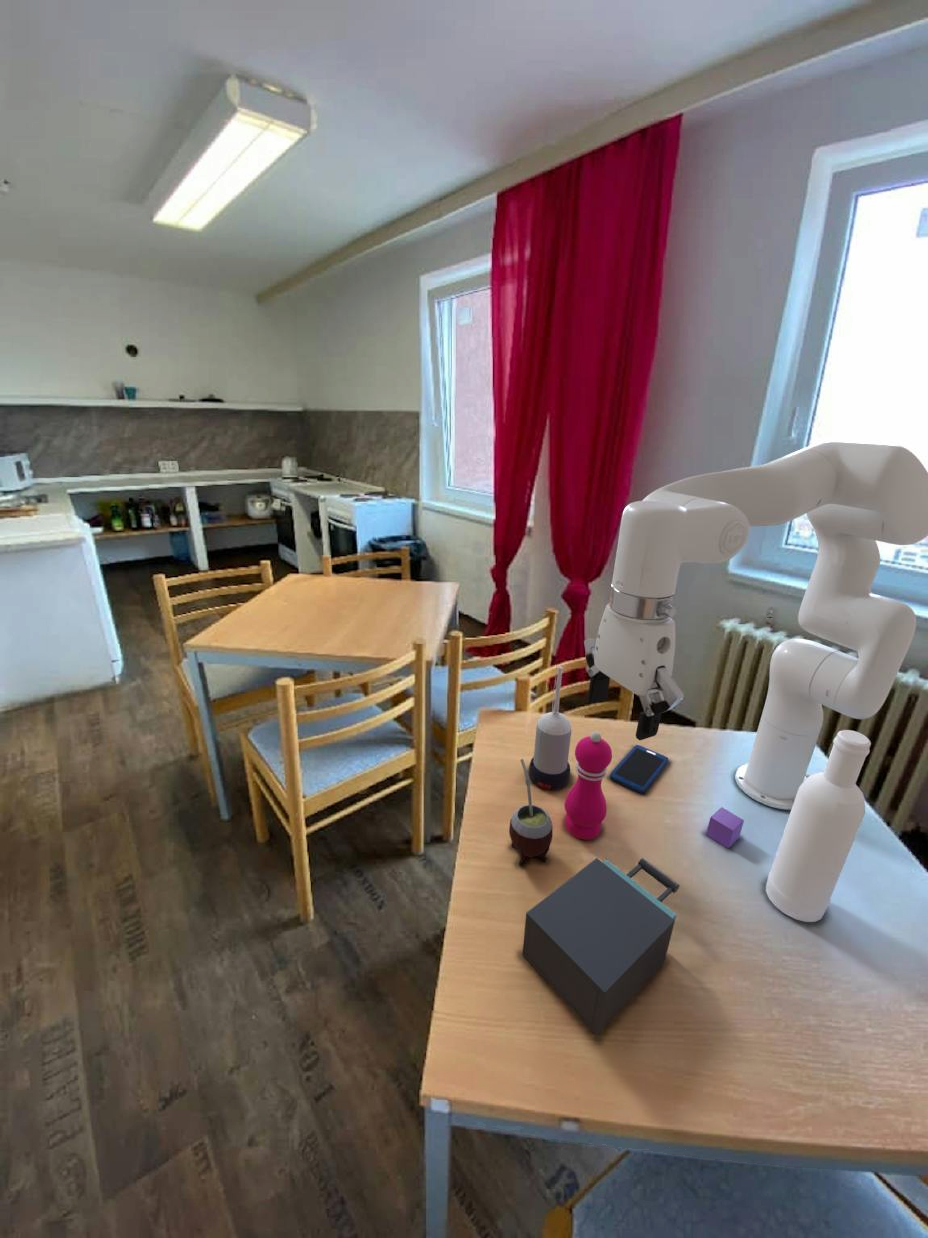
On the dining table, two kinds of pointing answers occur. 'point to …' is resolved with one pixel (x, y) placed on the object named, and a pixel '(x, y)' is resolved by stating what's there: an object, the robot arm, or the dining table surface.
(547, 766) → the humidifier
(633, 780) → the cell phone
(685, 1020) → the dining table surface
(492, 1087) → the dining table surface
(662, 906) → the drawer
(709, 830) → the block
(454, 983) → the dining table surface
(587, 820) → the pepper mill
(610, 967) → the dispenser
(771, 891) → the bottle
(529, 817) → the mate gourd
